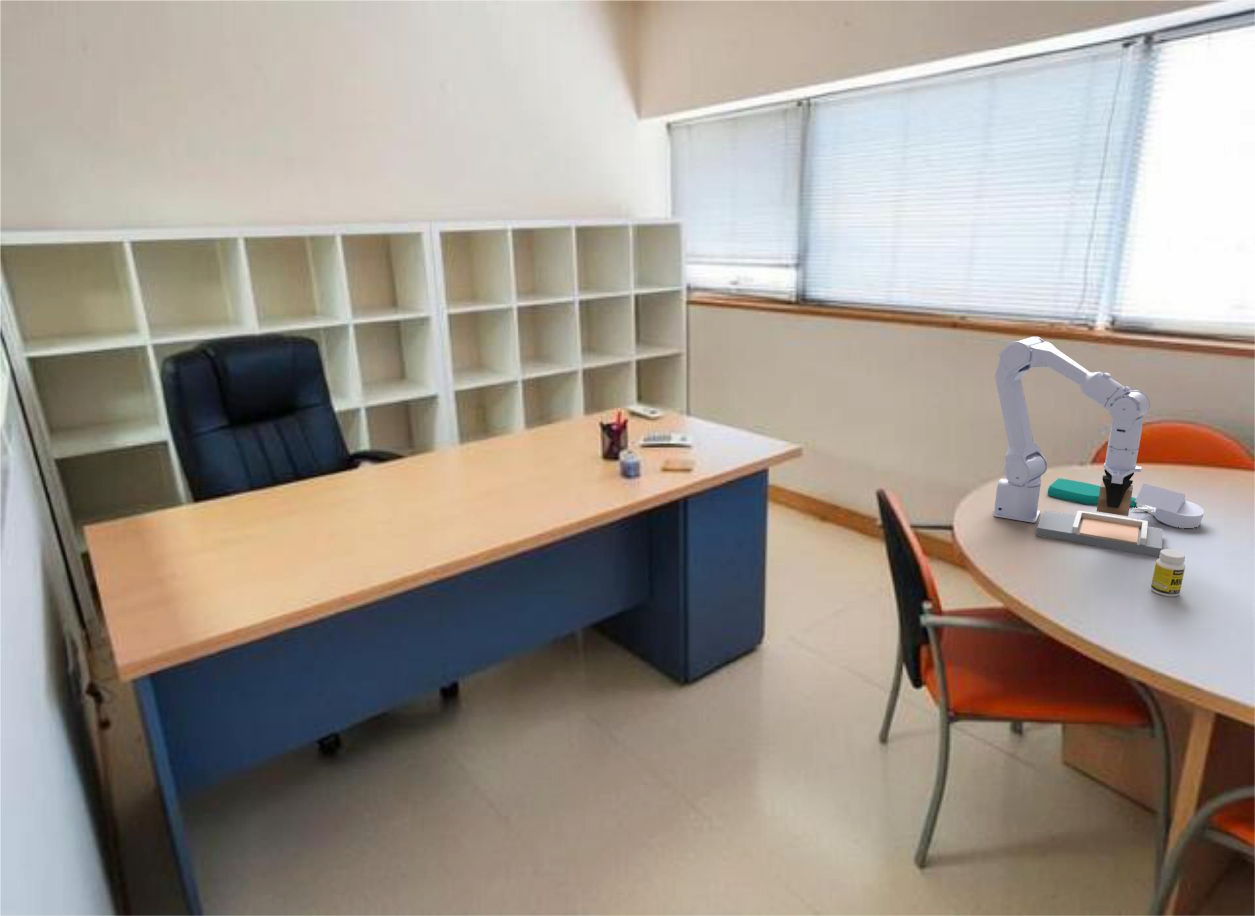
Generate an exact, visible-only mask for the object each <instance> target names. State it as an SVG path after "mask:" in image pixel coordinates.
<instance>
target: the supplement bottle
mask: <svg viewBox="0 0 1255 916" xmlns="http://www.w3.org/2000/svg"><path fill="white" fill-rule="evenodd" d="M1185 559H1186V555H1185V553H1183V552H1182V551H1180V550H1176V549H1171V548H1163V549H1162V550H1161V551H1160V555H1159V558H1157V559H1156V561H1155V563H1154V570H1153V574H1152V580H1151V583H1150V590H1151V591H1152V592H1154V593H1155V594H1158V595H1161V596H1164V597H1168V598H1169V597H1172V598H1173V597H1177V596H1179V595H1180V593H1181V589H1182V584H1183V580H1184V579H1183V578H1184V574H1185V570H1186V565H1185V561H1186V560H1185Z"/></svg>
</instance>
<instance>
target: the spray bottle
mask: <svg viewBox="0 0 1255 916" xmlns="http://www.w3.org/2000/svg"><path fill="white" fill-rule="evenodd" d="M1100 487H1101V485H1098V484H1092V483H1088V482H1085V481H1077V480H1073V479H1069V478H1057V479H1055V481H1053V483H1050V485H1049V486H1048V489H1047V495H1048V496H1049V497H1052V498H1055V499H1059V500H1060V499H1061V500H1064V501H1069V502H1074V503H1077V502H1078V503H1079V504H1083V505H1090V504H1091V505H1093V506H1094V505H1095V504H1096V505H1098V499H1099V493H1100ZM1136 498H1137V497H1134V496H1132V497H1131V502H1130V508H1131V510H1134V511H1144V512H1146V513H1148V514H1150V515H1151V516H1152V517H1153V516H1154V517H1155V515H1154V514H1155V511H1156V508H1154V507H1151V506H1147V505H1144V504H1140V503H1136V502H1135V500H1136ZM1132 507H1135V508H1132ZM1136 507H1138V508H1136Z"/></svg>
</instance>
